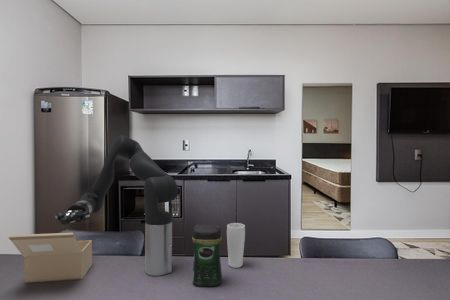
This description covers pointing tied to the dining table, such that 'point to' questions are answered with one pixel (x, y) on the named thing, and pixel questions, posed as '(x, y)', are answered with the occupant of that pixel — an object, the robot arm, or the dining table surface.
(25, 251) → the lid
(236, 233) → the drinking glass
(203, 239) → the coffee jar
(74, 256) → the mailer box
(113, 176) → the robot arm
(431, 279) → the dining table surface
